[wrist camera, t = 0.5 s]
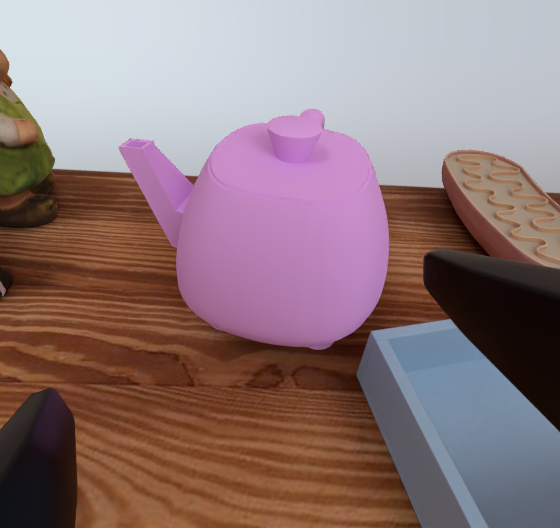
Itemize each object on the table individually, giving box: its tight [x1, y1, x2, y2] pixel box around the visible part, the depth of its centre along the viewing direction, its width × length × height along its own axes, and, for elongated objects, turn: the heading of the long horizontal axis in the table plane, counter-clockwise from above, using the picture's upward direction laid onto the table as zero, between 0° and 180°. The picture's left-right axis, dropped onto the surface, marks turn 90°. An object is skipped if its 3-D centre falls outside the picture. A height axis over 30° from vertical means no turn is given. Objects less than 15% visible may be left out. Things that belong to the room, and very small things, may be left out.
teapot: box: [119, 109, 389, 350], centre depth 30 cm, size 20×20×15 cm
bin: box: [356, 319, 560, 528], centre depth 24 cm, size 14×19×5 cm
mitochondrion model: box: [442, 150, 560, 269], centre depth 41 cm, size 23×10×5 cm, turn 4°
